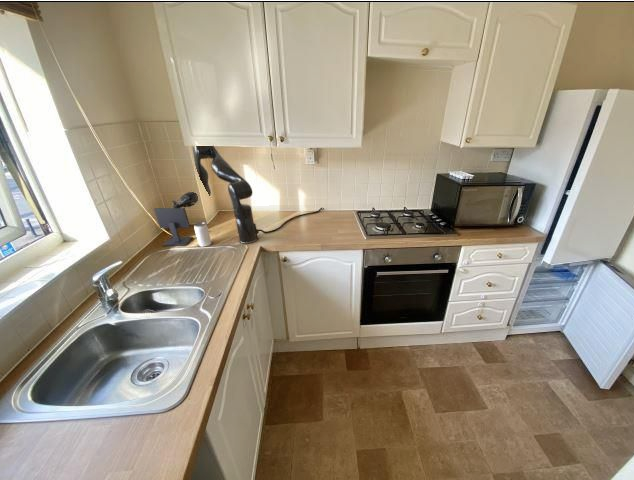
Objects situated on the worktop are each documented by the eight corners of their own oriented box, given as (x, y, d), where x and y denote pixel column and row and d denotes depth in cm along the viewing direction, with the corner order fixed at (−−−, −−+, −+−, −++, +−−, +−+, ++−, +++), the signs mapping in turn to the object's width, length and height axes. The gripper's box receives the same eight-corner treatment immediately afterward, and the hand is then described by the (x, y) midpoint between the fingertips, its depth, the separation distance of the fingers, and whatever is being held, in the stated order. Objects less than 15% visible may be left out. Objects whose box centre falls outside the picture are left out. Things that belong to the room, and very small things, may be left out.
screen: (161, 227, 156) (154, 208, 151) (190, 226, 157) (184, 207, 151) (160, 228, 155) (153, 208, 150) (189, 227, 155) (183, 208, 150)
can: (199, 242, 158) (193, 223, 152) (212, 241, 160) (206, 221, 154) (198, 247, 153) (192, 227, 147) (211, 245, 155) (206, 225, 149)
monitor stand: (172, 238, 163) (166, 219, 157) (193, 238, 164) (187, 218, 158) (163, 246, 155) (156, 225, 149) (185, 245, 155) (178, 225, 149)
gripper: (177, 192, 169) (161, 201, 154) (199, 192, 170) (185, 201, 154) (181, 204, 173) (165, 214, 158) (202, 204, 173) (189, 214, 158)
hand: (175, 207), depth 156 cm, fingers closed
